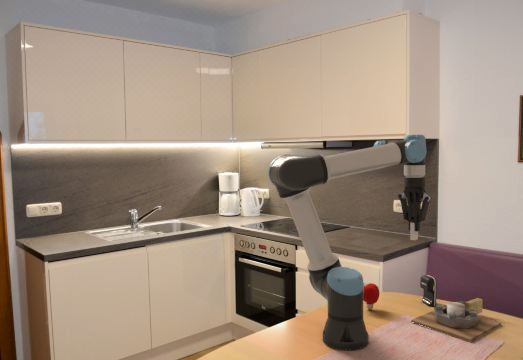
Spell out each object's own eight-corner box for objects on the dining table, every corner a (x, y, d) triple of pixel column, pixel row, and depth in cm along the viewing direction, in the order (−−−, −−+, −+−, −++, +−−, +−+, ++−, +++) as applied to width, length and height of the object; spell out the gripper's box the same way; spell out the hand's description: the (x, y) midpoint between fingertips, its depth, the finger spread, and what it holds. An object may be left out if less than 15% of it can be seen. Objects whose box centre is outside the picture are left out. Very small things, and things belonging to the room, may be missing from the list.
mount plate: (470, 342, 148) (470, 321, 147) (411, 322, 165) (411, 303, 165) (501, 325, 161) (501, 305, 161) (443, 308, 179) (444, 291, 178)
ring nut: (462, 331, 154) (462, 316, 153) (426, 318, 165) (427, 305, 165) (497, 317, 166) (498, 303, 165) (462, 306, 177) (462, 293, 177)
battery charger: (418, 301, 187) (419, 274, 186) (427, 300, 188) (427, 273, 187) (428, 307, 180) (428, 279, 180) (437, 306, 181) (437, 278, 180)
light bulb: (367, 304, 185) (367, 280, 184) (383, 308, 180) (383, 283, 179) (356, 311, 177) (356, 286, 177) (372, 315, 173) (372, 289, 172)
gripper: (436, 176, 165) (435, 240, 166) (405, 175, 175) (404, 235, 177) (424, 177, 160) (424, 243, 162) (393, 176, 170) (393, 238, 172)
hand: (414, 239), depth 169 cm, fingers closed
